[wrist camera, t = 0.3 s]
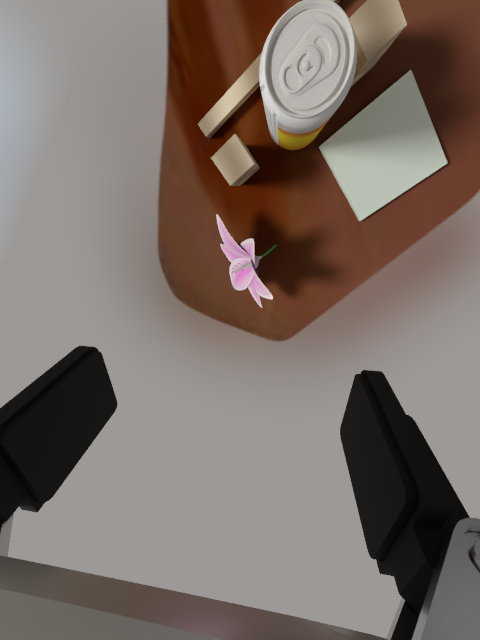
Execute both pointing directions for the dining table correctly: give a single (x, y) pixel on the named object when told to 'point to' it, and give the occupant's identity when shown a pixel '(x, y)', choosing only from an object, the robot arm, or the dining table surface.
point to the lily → (243, 264)
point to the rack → (234, 157)
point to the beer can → (306, 70)
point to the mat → (384, 148)
